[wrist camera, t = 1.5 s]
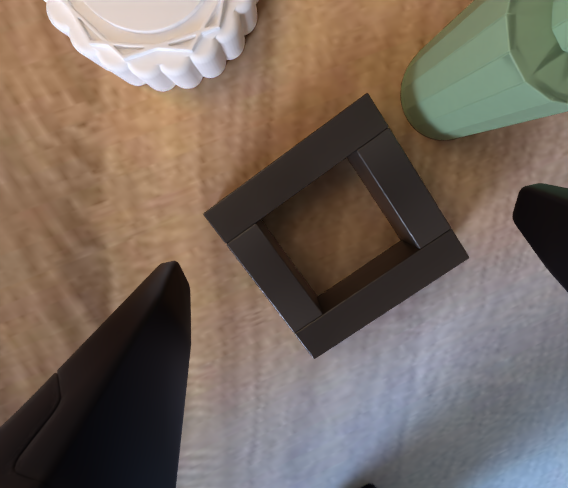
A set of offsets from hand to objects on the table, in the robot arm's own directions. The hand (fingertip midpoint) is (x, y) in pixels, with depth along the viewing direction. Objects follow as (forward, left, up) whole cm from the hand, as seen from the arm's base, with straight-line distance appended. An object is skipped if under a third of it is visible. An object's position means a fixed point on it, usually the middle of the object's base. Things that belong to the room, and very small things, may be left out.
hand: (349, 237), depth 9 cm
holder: (-2, 0, -14) cm, 14 cm away
